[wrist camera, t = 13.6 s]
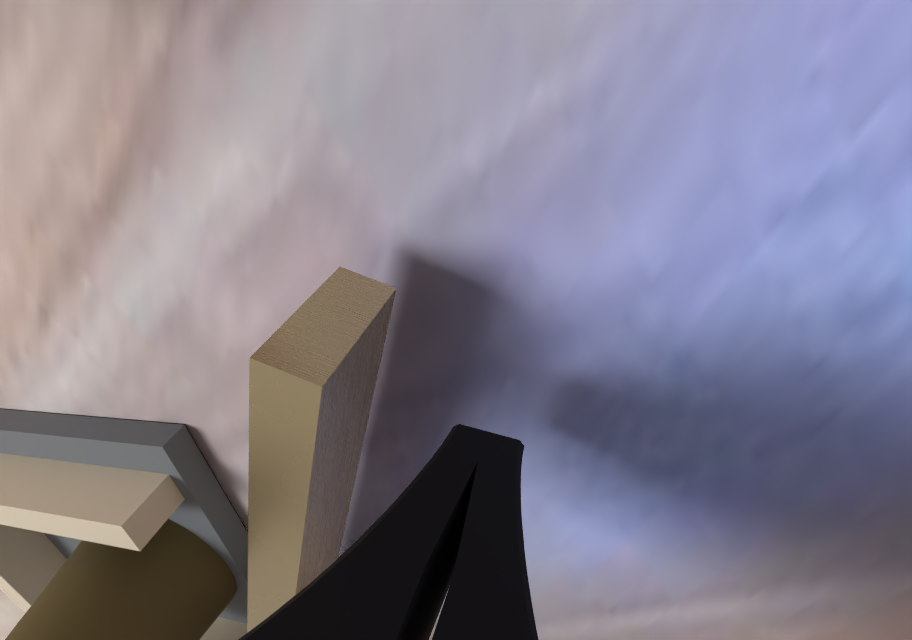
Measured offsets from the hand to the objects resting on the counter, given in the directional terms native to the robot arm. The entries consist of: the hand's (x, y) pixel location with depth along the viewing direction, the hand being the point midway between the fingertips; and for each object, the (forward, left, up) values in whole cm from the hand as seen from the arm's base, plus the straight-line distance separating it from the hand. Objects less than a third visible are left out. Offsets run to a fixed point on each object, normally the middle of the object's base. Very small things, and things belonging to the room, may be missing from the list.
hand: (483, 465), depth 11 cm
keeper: (-6, +7, -1) cm, 9 cm away
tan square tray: (-9, +18, -2) cm, 20 cm away
